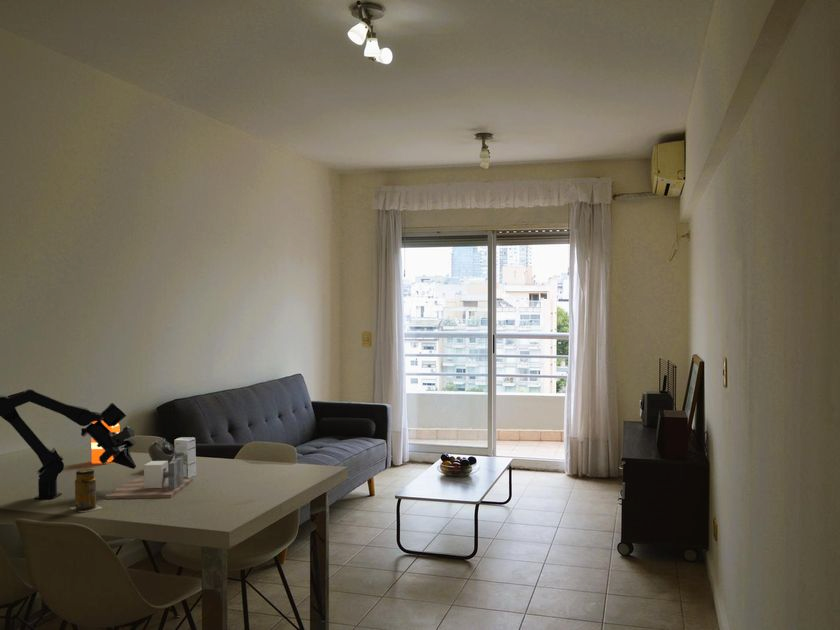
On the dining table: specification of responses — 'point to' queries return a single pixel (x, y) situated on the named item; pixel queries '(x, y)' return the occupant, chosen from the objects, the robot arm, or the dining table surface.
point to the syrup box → (186, 455)
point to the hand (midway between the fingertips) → (134, 467)
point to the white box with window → (155, 474)
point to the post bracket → (168, 491)
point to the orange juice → (99, 450)
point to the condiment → (85, 491)
